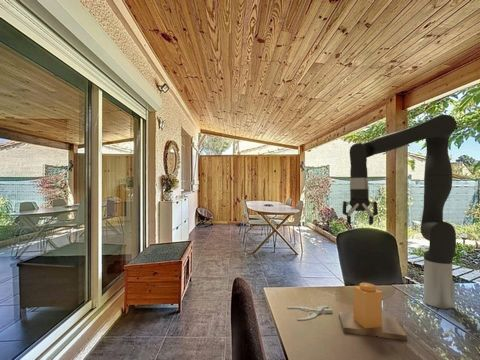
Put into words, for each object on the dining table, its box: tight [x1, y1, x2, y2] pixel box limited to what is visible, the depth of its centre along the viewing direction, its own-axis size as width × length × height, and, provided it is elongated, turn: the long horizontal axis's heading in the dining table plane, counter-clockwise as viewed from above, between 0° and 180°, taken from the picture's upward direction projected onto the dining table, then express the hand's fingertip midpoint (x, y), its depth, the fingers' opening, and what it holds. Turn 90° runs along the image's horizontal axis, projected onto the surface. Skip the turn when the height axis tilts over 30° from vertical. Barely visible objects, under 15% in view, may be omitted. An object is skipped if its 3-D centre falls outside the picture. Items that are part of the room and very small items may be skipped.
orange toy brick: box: [352, 282, 383, 328], centre depth 89 cm, size 6×6×12 cm
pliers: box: [287, 305, 334, 321], centre depth 99 cm, size 10×2×15 cm
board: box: [338, 311, 408, 341], centre depth 89 cm, size 18×11×6 cm, turn 77°
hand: (360, 224), depth 121 cm, fingers open, 8 cm apart
